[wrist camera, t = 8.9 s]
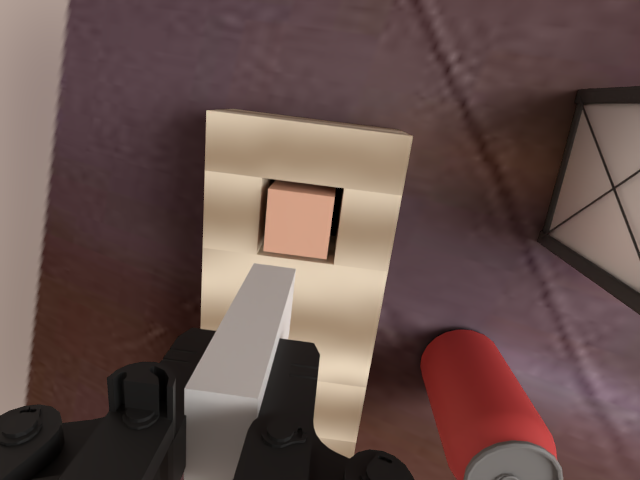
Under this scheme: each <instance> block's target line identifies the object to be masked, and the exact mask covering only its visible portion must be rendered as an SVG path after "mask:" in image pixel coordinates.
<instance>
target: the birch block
mask: <svg viewBox="0 0 640 480" xmlns="http://www.w3.org/2000/svg"><path fill="white" fill-rule="evenodd" d="M412 140H413V136H412V135H409V134H407V133H405V132H403V131H401V130H397V129H389V128H381V127H373V126H365V125H358V124H350V123H342V122H334V121H326V120H318V119H310V118H302V117H294V116H286V115H278V114H270V113H262V112H254V111H246V110H238V109H221V110H206V146H205V183H204V219H203V256H202V292H201V329H206V330H214V331H217V329H218V327H219V325H220V323H221V322H222V320H223V318H224V316H225V314H226V313H227V311H228V309H229V307H230V305H231V304H232V302H233V300H234V298H235V296H236V295H237V293H238V291H239V289H240V287H241V285H242V284H243V282H244V280H245V278H246V276H247V275H248V273H249V271H250V269H251V267H252V266H253V264H254V263H256V264H264V265H271V266H279V267H286V268H294V269H296V273H295V283H294V292H293V302H292V311H291V320H290V330H289V337H288V339H289V340H297V341H304V342H311V343H314V344H315V346H316V348H317V350H318V352H319V353H320V361H319V370H318V380H317V390H316V400H315V410H314V419H313V422H314V429H315V432H316V434H317V436H318V437H319V439H320V440H321V442H322V443H324V444H325V445H326V446H327V447H328V448H330V449H331V450H333V451H335V452H337V453H339V454H341V455H343V456H345V457H348V458H351V457H353V456H354V451H355V446H356V440H357V435H358V429H359V424H360V419H361V413H362V408H363V403H364V397H365V392H366V386H367V381H368V376H369V370H370V365H371V360H372V354H373V349H374V344H375V338H376V333H377V327H378V322H379V317H380V311H381V306H382V301H383V295H384V290H385V285H386V279H387V274H388V268H389V263H390V258H391V252H392V247H393V242H394V236H395V231H396V225H397V220H398V215H399V209H400V204H401V199H402V193H403V188H404V183H405V177H406V172H407V166H408V161H409V156H410V150H411V145H412ZM275 180H283V181H291V182H299V183H307V184H314V185H322V186H330V187H338V188H342V191H341V198H340V205H339V213H338V220H337V227H336V234H335V236H332V235H330V237H329V245H328V252H327V259H320V258H312V257H304V256H297V255H289V254H281V253H274V252H266V251H263V249H264V236H265V223H266V210H267V198H268V188H269V187H270V186H271V185H272V184H273V183H274V181H275Z"/></svg>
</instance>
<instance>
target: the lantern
mask: <svg viewBox="0 0 640 480" xmlns="http://www.w3.org/2000/svg"><path fill="white" fill-rule="evenodd" d="M575 103H577V105H576V109H575V113H574V117H573V120H572V124H571V128H570V132H569V135H568V139H567V143H566V147H565V150H564V154H563V158H562V161H561V165H560V169H559V173H558V176H557V180H556V184H555V188H554V191H553V195H552V199H551V202H550V206H549V210H548V214H547V217H546V221H545V225H544V229H543V231H540V234H539V238H538V242H539V243H540V244H541V245H543V246H544V247H546V248H547V249H548V250H550V251H551V252H553V253H554V254H555V255H557V256H558V257H560V258H561V259H562V260H564V261H565V262H567V263H568V264H569V265H571V266H572V267H574V268H575V269H576V270H578V271H579V272H581V273H582V274H583V275H585V276H586V277H588V278H589V279H590V280H592V281H593V282H595V283H596V284H597V285H599V286H600V287H602V288H603V289H604V290H606V291H607V292H609V293H610V294H611V295H613V296H614V297H616V298H617V299H618V300H620V301H621V302H623V303H624V304H625V305H627V306H628V307H630V308H631V309H632V310H634V311H635V312H637V313H638V314H639V315H640V86H633V87H615V88H597V89H590V88H588V89H579V90H578V92H577V95H576V99H575Z"/></svg>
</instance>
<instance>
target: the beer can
mask: <svg viewBox="0 0 640 480" xmlns="http://www.w3.org/2000/svg"><path fill="white" fill-rule="evenodd" d="M420 368H421V372H422V377H423V380H424V384H425V387H426V390H427V394H428V397H429V401H430V404H431V408H432V411H433V414H434V418H435V421H436V425H437V428H438V432H439V435H440V438H441V442H442V445H443V449H444V452H445V456H446V459H447V462H448V466H449V468H450V469H451V471H452V473H453V475H454V476H455V477H456V479H457V480H563V475H562V468H561V466H560V465H559V463H558V461H557V455H556V446H555V443H554V440H553V437H552V435H551V433H550V432H549V430H548V428H547V427H546V425H545V423H544V422H543V420H542V419H541V417H540V415H539V414H538V412H537V411H536V409H535V407H534V406H533V404H532V403H531V401H530V400H529V398H528V396H527V395H526V393H525V392H524V390H523V388H522V387H521V385H520V384H519V382H518V380H517V379H516V377H515V376H514V374H513V373H512V371H511V369H510V368H509V366H508V365H507V363H506V361H505V360H504V358H503V357H502V355H501V354H500V352H499V350H498V349H497V347H496V346H495V344H494V342H493V341H491V340H490V339H489V338H488V337H486V336H485V335H483V334H480V333H478V332H475V331H472V330H461V329H459V330H454V331H449V332H446V333H444V334H442V335H440V336H438V337H436V338H435V339H434V340H433V341H432V342H431V343H430V344H428V345H427V347H426V349H425V351H424V353H423V355H422V358H421V364H420Z"/></svg>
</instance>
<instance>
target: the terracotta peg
mask: <svg viewBox="0 0 640 480" xmlns="http://www.w3.org/2000/svg"><path fill="white" fill-rule="evenodd" d="M335 189H336V187H330V186H322V185H314V184H307V183H299V182H291V181H283V180H275V181H274V183H273V184H272V185H271V186H270V187H269V188H268V198H267V210H266V223H265V236H264V249H263V251H266V252H274V253H281V254H289V255H297V256H304V257H312V258H320V259H327V252H328V245H329V237H330V230H331V222H332V215H333V207H334V200H335Z"/></svg>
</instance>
